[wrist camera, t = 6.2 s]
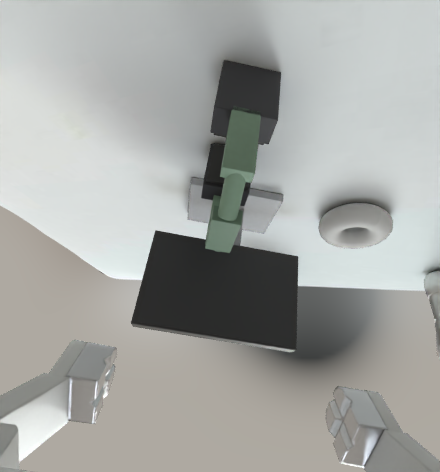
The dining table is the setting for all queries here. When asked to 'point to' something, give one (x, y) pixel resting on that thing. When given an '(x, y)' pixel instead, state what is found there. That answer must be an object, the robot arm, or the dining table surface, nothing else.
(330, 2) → the dining table surface
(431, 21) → the dining table surface
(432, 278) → the plastic bottle
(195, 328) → the monitor
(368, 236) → the donut
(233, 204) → the headphones
